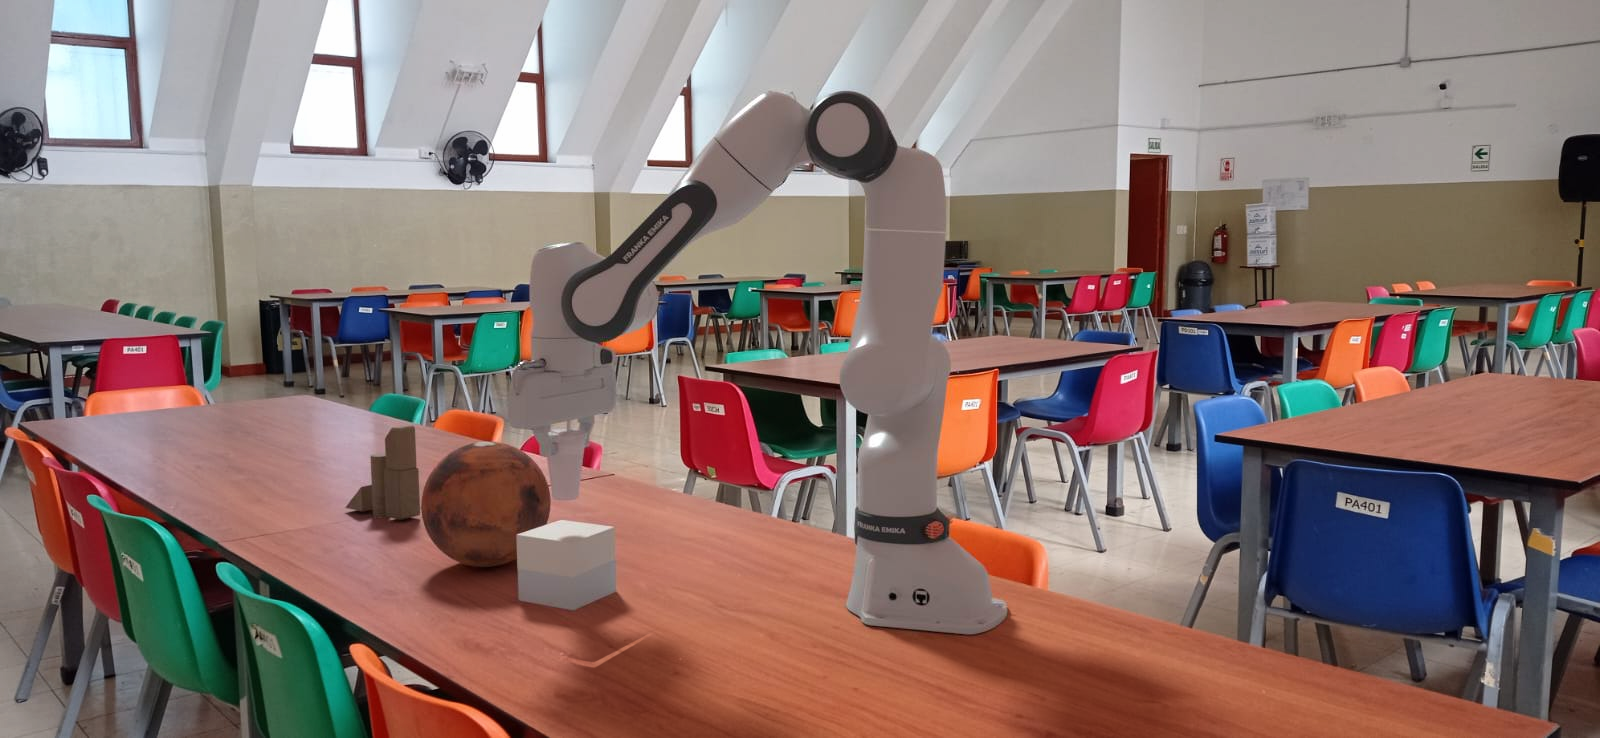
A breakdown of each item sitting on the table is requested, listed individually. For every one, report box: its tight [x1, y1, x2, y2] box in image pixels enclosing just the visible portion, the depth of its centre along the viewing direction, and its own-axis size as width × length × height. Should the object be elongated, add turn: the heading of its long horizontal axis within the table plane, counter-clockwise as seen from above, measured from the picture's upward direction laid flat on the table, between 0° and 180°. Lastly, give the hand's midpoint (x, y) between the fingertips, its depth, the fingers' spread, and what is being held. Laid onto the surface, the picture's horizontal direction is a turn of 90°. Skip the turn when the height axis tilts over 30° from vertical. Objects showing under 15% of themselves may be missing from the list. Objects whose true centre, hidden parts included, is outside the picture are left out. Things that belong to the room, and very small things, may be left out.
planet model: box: [420, 441, 552, 568], centre depth 182 cm, size 20×20×20 cm
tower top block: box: [516, 519, 616, 577], centre depth 166 cm, size 10×10×5 cm
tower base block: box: [517, 559, 617, 611], centre depth 167 cm, size 10×10×5 cm
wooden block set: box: [344, 424, 421, 520], centre depth 216 cm, size 17×6×18 cm, turn 56°
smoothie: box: [546, 420, 587, 502], centre depth 165 cm, size 6×6×14 cm
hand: (565, 451), depth 165 cm, fingers closed on smoothie, 6 cm apart
